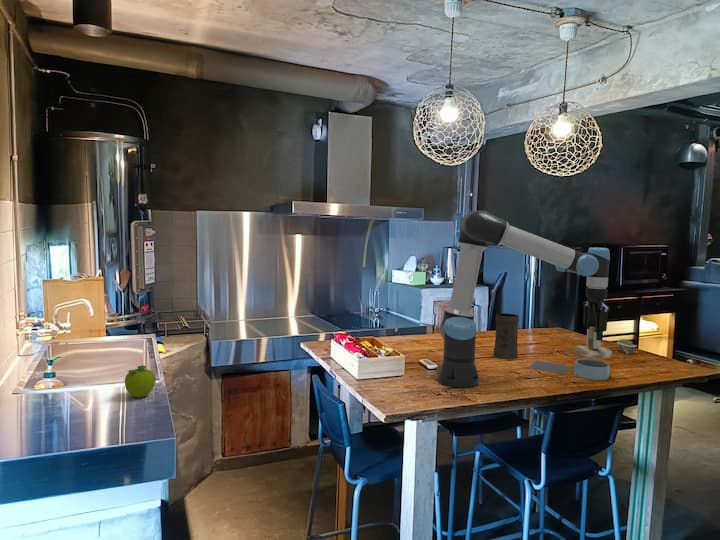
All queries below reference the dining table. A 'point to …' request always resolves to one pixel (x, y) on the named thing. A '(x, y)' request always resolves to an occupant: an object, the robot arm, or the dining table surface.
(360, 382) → the dining table surface
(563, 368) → the mat
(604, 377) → the bowl
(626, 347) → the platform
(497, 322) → the beer stein
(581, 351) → the lid
